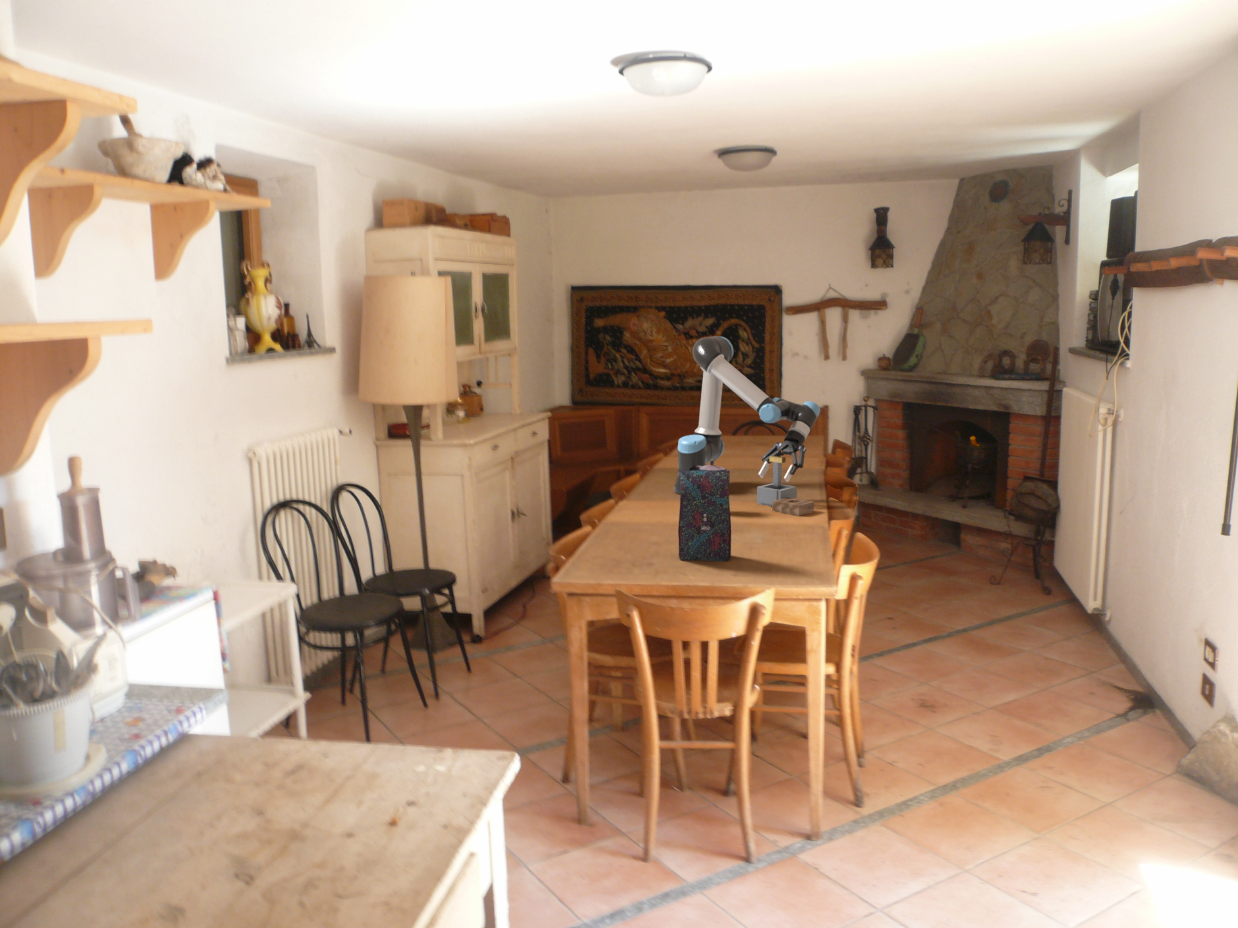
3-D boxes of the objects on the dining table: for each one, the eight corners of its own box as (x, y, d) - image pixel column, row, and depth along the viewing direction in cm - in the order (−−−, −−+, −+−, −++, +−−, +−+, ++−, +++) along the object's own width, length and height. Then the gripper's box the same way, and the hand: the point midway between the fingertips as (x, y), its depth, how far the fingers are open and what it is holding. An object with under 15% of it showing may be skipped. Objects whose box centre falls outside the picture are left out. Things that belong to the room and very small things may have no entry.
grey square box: (756, 504, 379) (756, 487, 378) (773, 499, 387) (773, 482, 386) (779, 508, 371) (780, 490, 370) (797, 504, 379) (797, 486, 378)
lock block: (772, 511, 367) (772, 501, 366) (787, 507, 374) (788, 497, 373) (798, 516, 358) (798, 505, 358) (813, 511, 365) (814, 501, 365)
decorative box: (679, 553, 308) (679, 467, 303) (730, 554, 306) (731, 468, 301) (678, 560, 300) (678, 472, 295) (730, 561, 298) (731, 473, 293)
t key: (768, 501, 380) (769, 456, 377) (772, 500, 382) (773, 455, 379) (781, 503, 376) (782, 458, 373) (784, 502, 378) (785, 457, 375)
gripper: (825, 444, 377) (802, 487, 369) (776, 438, 394) (752, 480, 386) (818, 432, 373) (794, 476, 365) (768, 426, 390) (744, 468, 382)
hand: (773, 478), depth 376 cm, fingers open, 11 cm apart
